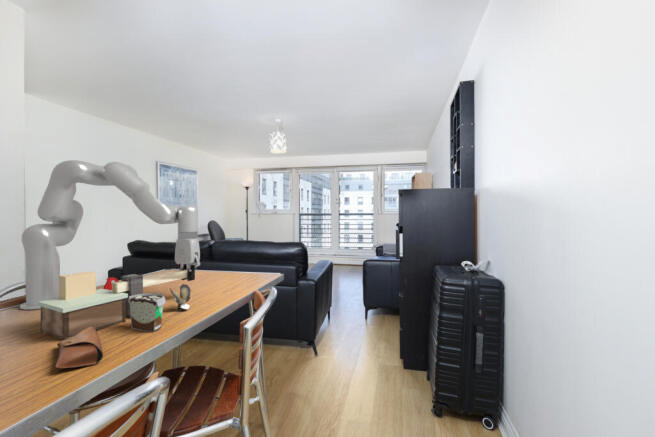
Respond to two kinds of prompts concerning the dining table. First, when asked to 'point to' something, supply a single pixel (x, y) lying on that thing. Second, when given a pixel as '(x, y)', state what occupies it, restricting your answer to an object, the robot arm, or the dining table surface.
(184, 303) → the eagle figurine
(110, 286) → the tracker holder
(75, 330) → the toolbox
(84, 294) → the lid
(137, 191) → the robot arm
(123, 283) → the cream wooden bar
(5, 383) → the dining table surface
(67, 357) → the sunglasses case
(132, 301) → the food container
